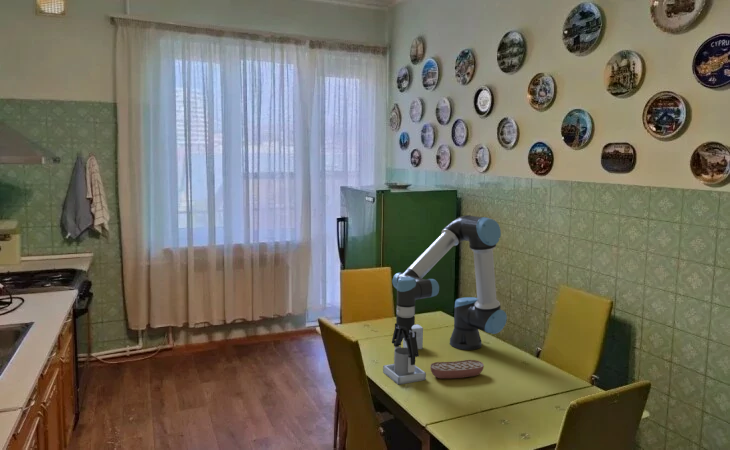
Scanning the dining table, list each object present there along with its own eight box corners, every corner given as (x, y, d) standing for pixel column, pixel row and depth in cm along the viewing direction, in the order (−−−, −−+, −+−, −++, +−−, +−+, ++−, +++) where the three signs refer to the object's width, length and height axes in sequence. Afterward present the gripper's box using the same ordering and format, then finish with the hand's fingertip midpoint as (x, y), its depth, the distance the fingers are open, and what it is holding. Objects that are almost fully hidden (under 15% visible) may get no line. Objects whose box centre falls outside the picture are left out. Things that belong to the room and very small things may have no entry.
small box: (418, 345, 265) (418, 324, 263) (422, 349, 259) (423, 327, 258) (402, 346, 262) (403, 325, 261) (407, 350, 257) (407, 329, 256)
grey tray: (409, 367, 236) (409, 361, 236) (425, 379, 224) (425, 372, 223) (383, 372, 231) (383, 365, 230) (398, 384, 219) (398, 377, 218)
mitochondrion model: (477, 370, 235) (478, 358, 235) (487, 379, 226) (488, 367, 225) (427, 374, 230) (427, 362, 230) (435, 383, 221) (435, 371, 220)
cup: (412, 379, 222) (413, 355, 221) (392, 377, 224) (392, 353, 223) (415, 371, 230) (416, 348, 229) (396, 369, 232) (396, 346, 231)
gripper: (384, 308, 233) (383, 358, 236) (411, 324, 212) (410, 378, 215) (400, 306, 236) (398, 355, 239) (428, 322, 215) (426, 375, 218)
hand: (404, 366), depth 227 cm, fingers open, 11 cm apart
